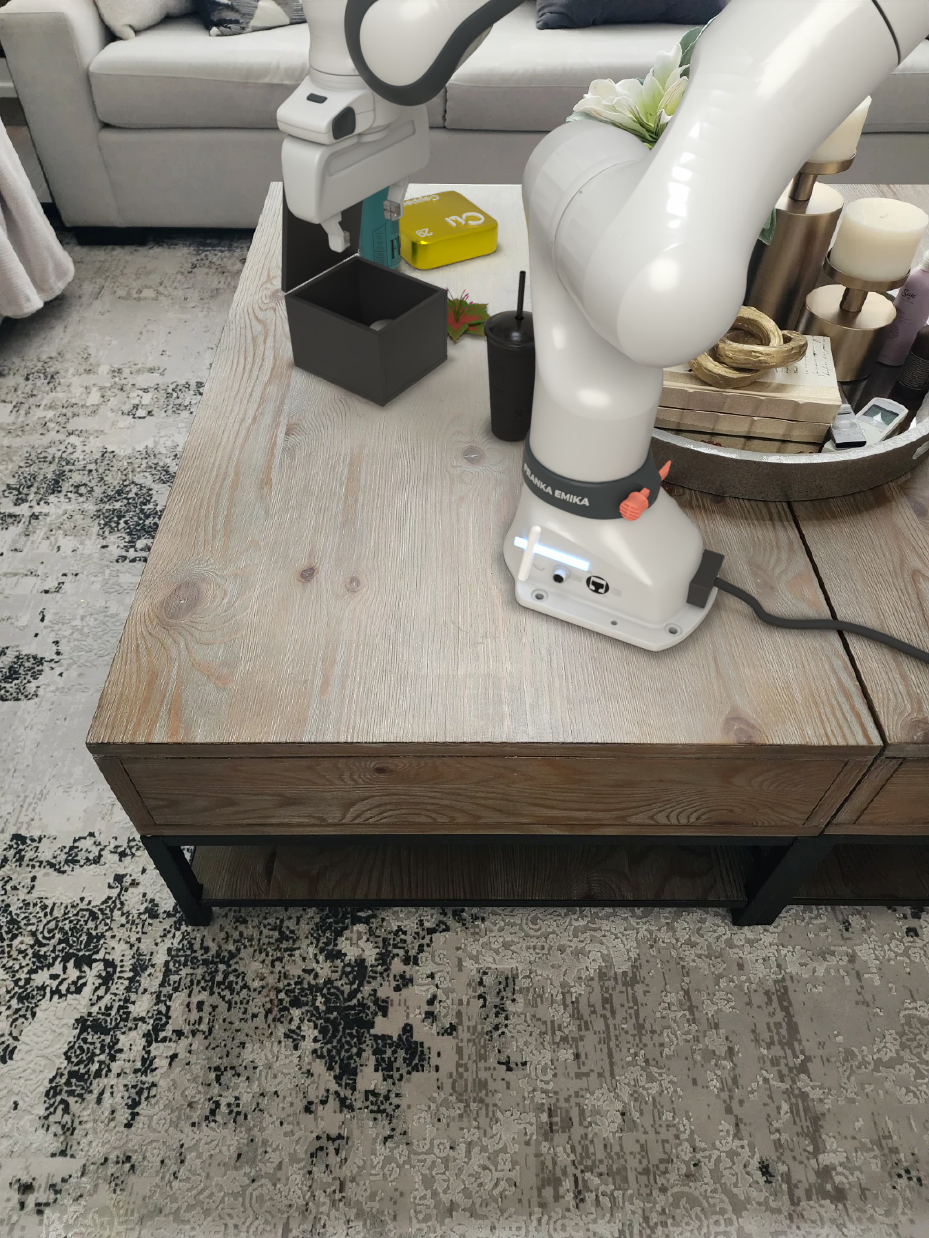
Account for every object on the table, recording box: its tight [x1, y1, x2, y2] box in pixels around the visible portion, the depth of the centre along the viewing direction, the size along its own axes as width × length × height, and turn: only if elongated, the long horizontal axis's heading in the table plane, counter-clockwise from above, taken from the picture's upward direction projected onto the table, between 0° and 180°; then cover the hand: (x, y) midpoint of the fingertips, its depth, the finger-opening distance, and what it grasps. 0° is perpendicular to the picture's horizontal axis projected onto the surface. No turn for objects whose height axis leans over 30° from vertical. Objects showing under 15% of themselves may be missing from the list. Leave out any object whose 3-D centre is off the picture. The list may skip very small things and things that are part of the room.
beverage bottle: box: [357, 185, 403, 270], centre depth 121 cm, size 6×7×20 cm
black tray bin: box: [283, 254, 449, 407], centre depth 109 cm, size 15×14×10 cm
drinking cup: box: [483, 270, 535, 443], centre depth 96 cm, size 8×8×20 cm
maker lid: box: [280, 180, 363, 294], centre depth 102 cm, size 16×14×5 cm
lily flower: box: [445, 286, 492, 343], centre depth 118 cm, size 12×12×5 cm
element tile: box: [399, 190, 499, 270], centre depth 134 cm, size 15×15×5 cm
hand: (367, 233), depth 95 cm, fingers open, 8 cm apart
